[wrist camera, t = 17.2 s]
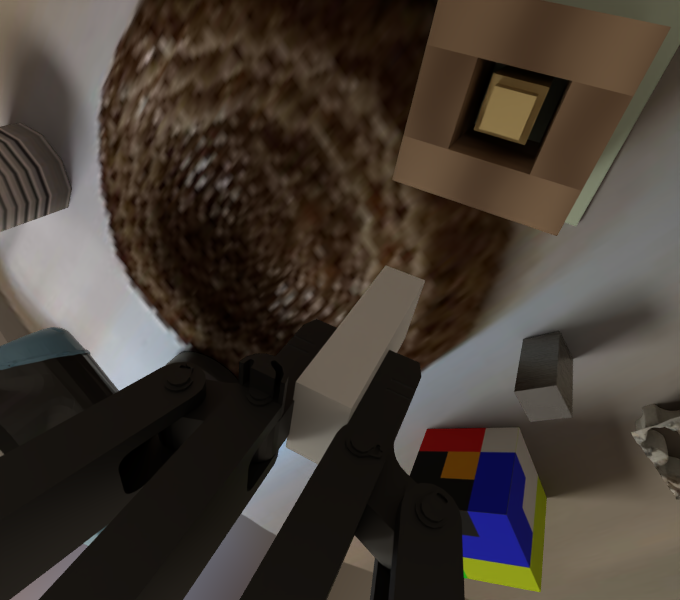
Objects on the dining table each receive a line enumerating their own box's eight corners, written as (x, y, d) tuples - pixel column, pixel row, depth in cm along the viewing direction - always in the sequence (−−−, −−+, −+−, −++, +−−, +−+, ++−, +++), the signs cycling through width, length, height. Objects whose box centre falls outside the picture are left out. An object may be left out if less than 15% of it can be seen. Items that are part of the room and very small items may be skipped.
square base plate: (397, 165, 34) (361, 193, 28) (455, -59, 26) (420, -83, 20) (576, 224, 31) (576, 270, 25) (710, -13, 22) (757, -25, 17)
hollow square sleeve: (426, 150, 32) (392, 179, 26) (474, -10, 26) (443, -21, 20) (561, 192, 30) (556, 236, 24) (647, 26, 24) (671, 26, 18)
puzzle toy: (519, 426, 42) (506, 514, 35) (546, 497, 45) (540, 592, 38) (427, 428, 48) (399, 504, 40) (457, 491, 51) (436, 572, 44)
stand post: (536, 366, 38) (530, 421, 33) (523, 339, 37) (514, 391, 32) (572, 359, 36) (572, 417, 31) (559, 330, 35) (556, 385, 30)
